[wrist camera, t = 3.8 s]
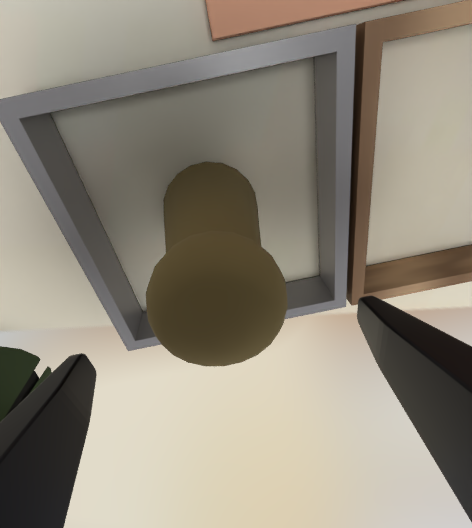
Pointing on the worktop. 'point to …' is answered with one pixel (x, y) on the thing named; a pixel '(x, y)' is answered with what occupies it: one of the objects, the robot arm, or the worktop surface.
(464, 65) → the worktop surface
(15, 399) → the character mug
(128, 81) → the charcoal bin
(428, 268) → the walnut bin
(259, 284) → the cork
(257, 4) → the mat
